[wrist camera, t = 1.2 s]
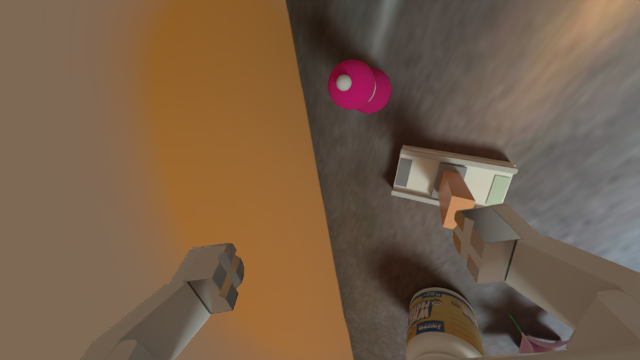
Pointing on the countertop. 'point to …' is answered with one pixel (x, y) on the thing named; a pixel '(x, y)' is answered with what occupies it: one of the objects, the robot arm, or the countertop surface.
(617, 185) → the countertop surface
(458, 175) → the lever
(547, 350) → the lily
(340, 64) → the pepper mill
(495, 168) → the white base plate
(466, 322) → the supplement tub
